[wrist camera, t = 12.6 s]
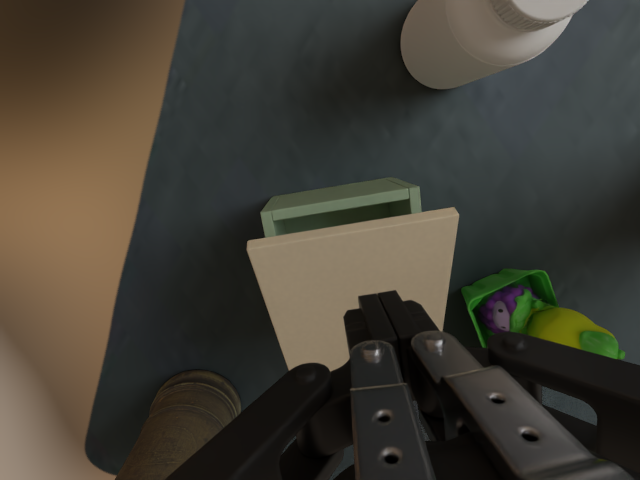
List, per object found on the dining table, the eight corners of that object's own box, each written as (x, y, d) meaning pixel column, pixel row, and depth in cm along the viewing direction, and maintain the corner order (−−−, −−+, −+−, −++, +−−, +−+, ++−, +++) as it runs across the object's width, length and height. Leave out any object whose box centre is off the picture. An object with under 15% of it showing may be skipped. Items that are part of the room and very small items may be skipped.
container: (141, 394, 40) (10, 588, 22) (208, 352, 39) (127, 522, 21) (192, 450, 42) (109, 670, 24) (257, 413, 41) (220, 612, 23)
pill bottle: (418, 107, 33) (503, 76, 19) (384, 17, 31) (450, -95, 17) (500, 67, 33) (655, 3, 18) (471, -27, 31) (617, -183, 16)
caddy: (271, 196, 35) (260, 212, 26) (392, 176, 35) (419, 186, 26) (296, 325, 38) (293, 376, 30) (406, 307, 38) (434, 353, 30)
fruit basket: (443, 282, 38) (500, 338, 27) (525, 246, 37) (618, 287, 26) (480, 370, 40) (544, 453, 29) (556, 338, 40) (652, 410, 29)
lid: (246, 240, 20) (246, 249, 20) (454, 206, 20) (459, 214, 20) (292, 374, 30) (293, 384, 29) (435, 352, 29) (438, 361, 29)
